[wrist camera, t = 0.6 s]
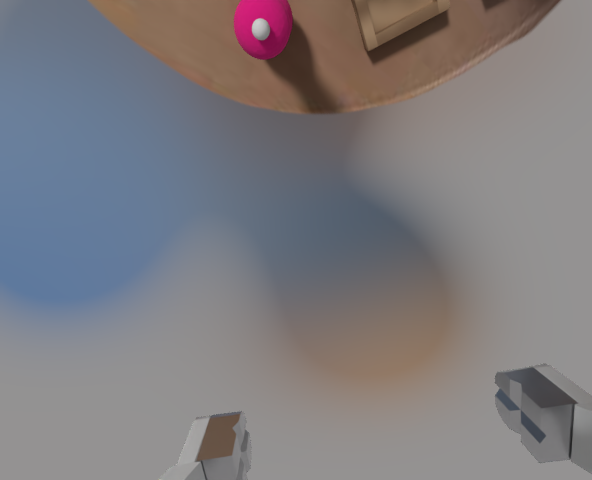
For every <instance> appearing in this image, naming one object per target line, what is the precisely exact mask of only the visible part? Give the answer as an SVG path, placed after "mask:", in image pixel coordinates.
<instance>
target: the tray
mask: <svg viewBox="0 0 592 480" xmlns="http://www.w3.org/2000/svg"><path fill="white" fill-rule="evenodd" d="M351 1H352V4H353V8H354V12H355V15H356V19H357V22H358V26H359V30H360V33H361V37H362V40H363V44H364V48H365V49H366V50H367V51H370V50H372V49H374V48H376V47H378V46H380V45H381V44H383V43H385V42H387V41H389V40H391V39H393V38H395V37H397V36H398V35H400V34H402V33H404V32H406V31H408V30H410V29H412V28H414V27H415V26H417V25H419V24H421V23H423V22H425V21H427V20H429V19H430V18H432V17H434V16H436V15H438V14H440V13H442V12H444V11H446V10H447V9H449V8H450V4H449V0H351Z"/></svg>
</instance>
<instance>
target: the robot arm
mask: <svg viewBox="0 0 592 480" xmlns="http://www.w3.org/2000/svg"><path fill="white" fill-rule="evenodd" d="M495 383H496V384H497V386H498V387H499V388H500V389H499V390H498V392H497V393H496V395H495V402H496V407H497V410H498V412H499V414H500V416H501V418H502V420H503V421H504V423H505V424H506V425H507V426H508V427H509V429H511V430H513V431H515V432H517V433H519V434H520V435H521V442H522V444H523V445H524V446H525V447H526V448H527V449H528V451H529V452H530V453H531V454H532V455H533V456H534V457H535V459H536V460H537V461H538V462H539V463H545V462H553V461H561V460H570V459H571V461H572V462H573V463H575V464H577V465H578V466H580V467H581V468H583V469H584V470H586V471H588V472H589V473H591V474H592V396H591V395H590V394H589V393H587V392H586V391H585V390H583V389H582V388H580V387H579V386H578V385H576V384H575V383H574V382H572V381H571V380H570V379H568V378H567V377H565V376H564V375H563V374H561V373H560V372H559V371H557V370H556V369H555V368H553V367H552V366H550V365H547V364H541V365H535V366H529V367H525V368H519V369H513V370H507V371H501V372H497V373H496V376H495ZM245 426H246V418H245V415H244V412H242V411H241V412H232V413H224V414H216V415H212V416H203V417H197V418H196V419H195V420H194V421H193V424H192V426H191V429H190V432H189V434H188V437H187V440H186V442H185V445H184V447H183V450H182V453H181V455H180V458H179V461H178V463H177V465H174V466H171V467H170V468H169V469H168V470H167V471H166V472H165V473H164V474H163V475H162V476H161V477H160V478H159V479H158V480H248V479H247V475H246V473H247V472H248V470H249V469H250V466H251V440H250V435H249V432H247V431H246V430H245Z"/></svg>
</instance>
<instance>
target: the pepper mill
mask: <svg viewBox="0 0 592 480" xmlns="http://www.w3.org/2000/svg"><path fill="white" fill-rule="evenodd" d="M292 24H293V17H292V11H291V8H290V5H289V3H288V1H287V0H241V1H240V3H239V4H238V6H237V9H236V12H235V16H234V29H235V34H236V37H237V40H238V42H239V44H240V45H241V47H242V48H243V49H244V51H245V52H247V53H248V54H249V55H251V56H252V57H254V58H257V59H262V60H265V59H270V58H273V57H275V56H277V55H278V54H279V53H281V52H282V50H283V49H284V48H285V46H286V44H287V42H288V39H289V36H290V33H291V30H292Z"/></svg>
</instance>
